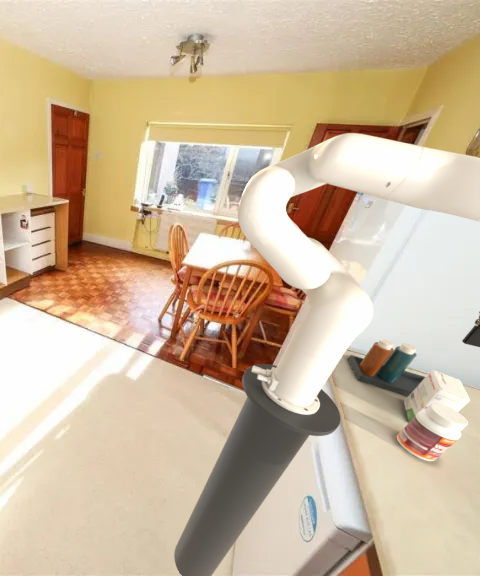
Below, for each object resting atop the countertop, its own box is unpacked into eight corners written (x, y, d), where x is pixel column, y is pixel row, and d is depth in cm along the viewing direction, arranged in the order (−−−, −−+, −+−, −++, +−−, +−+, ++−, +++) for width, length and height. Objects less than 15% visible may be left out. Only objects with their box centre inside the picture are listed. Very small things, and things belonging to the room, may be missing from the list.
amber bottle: (359, 373, 79) (380, 343, 74) (355, 364, 82) (375, 335, 77) (377, 378, 78) (399, 348, 73) (372, 369, 81) (393, 340, 76)
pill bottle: (427, 466, 56) (465, 432, 51) (389, 439, 61) (421, 405, 56) (440, 456, 58) (478, 422, 53) (403, 431, 63) (434, 397, 58)
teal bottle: (379, 379, 77) (403, 347, 72) (374, 370, 81) (397, 340, 75) (397, 384, 76) (423, 353, 71) (391, 375, 79) (416, 345, 74)
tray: (357, 380, 77) (361, 375, 76) (347, 358, 86) (350, 354, 85) (447, 409, 70) (452, 404, 69) (426, 382, 78) (430, 378, 78)
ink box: (436, 435, 63) (473, 400, 57) (407, 422, 66) (439, 387, 60) (429, 412, 69) (461, 379, 63) (402, 401, 71) (431, 368, 66)
